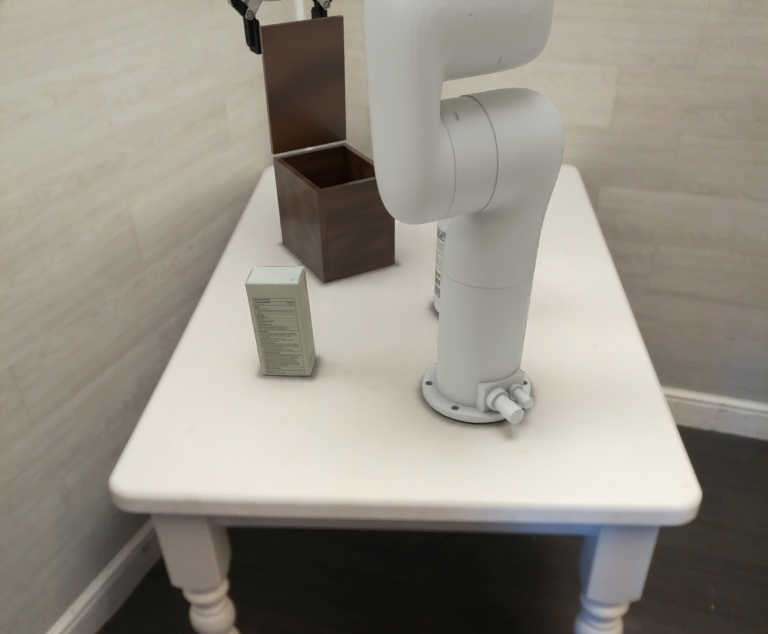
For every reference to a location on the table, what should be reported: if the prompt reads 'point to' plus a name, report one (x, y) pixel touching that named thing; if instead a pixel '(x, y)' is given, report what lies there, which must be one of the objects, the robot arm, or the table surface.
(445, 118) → the robot arm
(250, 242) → the table surface
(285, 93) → the lid
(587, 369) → the table surface
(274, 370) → the cosmetic box
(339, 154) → the chest
